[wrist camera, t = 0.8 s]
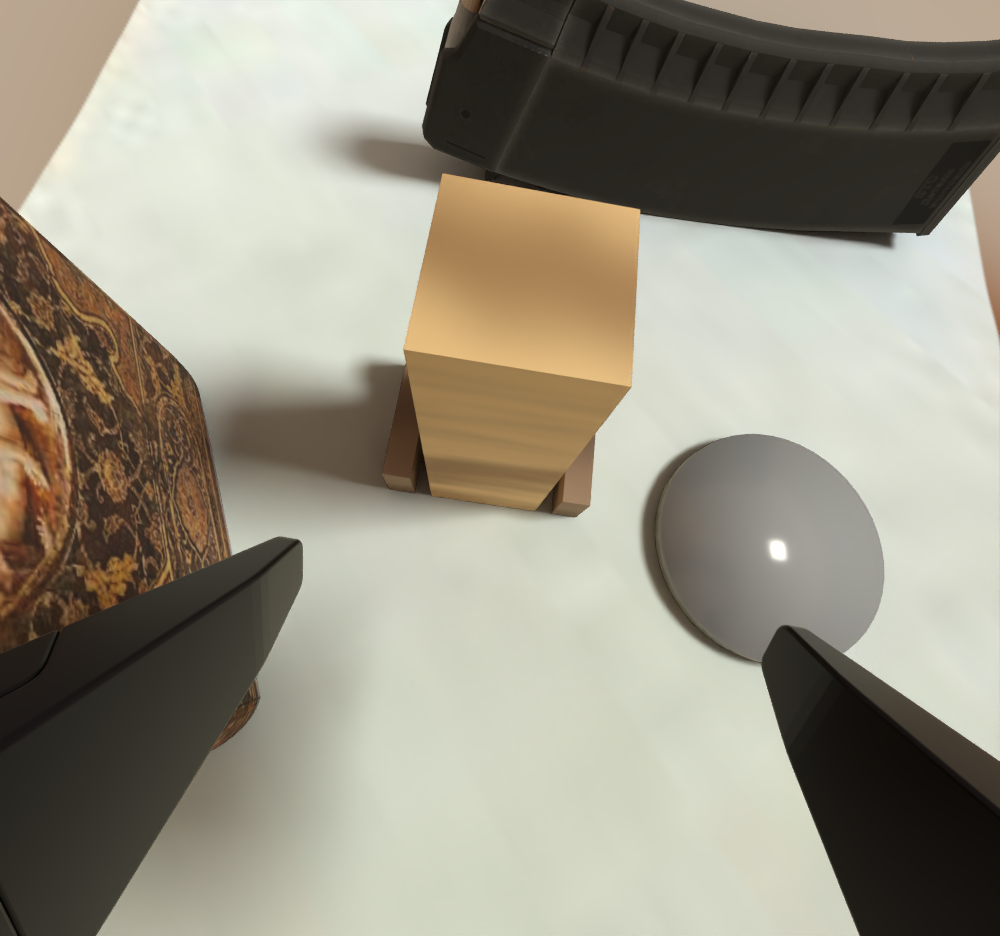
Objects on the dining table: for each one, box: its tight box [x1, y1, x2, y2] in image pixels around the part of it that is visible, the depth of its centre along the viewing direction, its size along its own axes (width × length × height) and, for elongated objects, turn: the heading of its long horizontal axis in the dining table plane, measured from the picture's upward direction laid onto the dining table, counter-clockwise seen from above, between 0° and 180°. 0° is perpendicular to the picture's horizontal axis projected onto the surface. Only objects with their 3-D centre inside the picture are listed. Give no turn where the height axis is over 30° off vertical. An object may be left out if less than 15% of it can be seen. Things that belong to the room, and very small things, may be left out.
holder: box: [382, 365, 595, 517], centre depth 22 cm, size 7×9×3 cm
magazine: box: [422, 0, 1000, 236], centre depth 25 cm, size 17×3×30 cm
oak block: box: [403, 173, 640, 511], centre depth 17 cm, size 5×5×13 cm
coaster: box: [655, 434, 884, 662], centre depth 23 cm, size 11×11×1 cm
